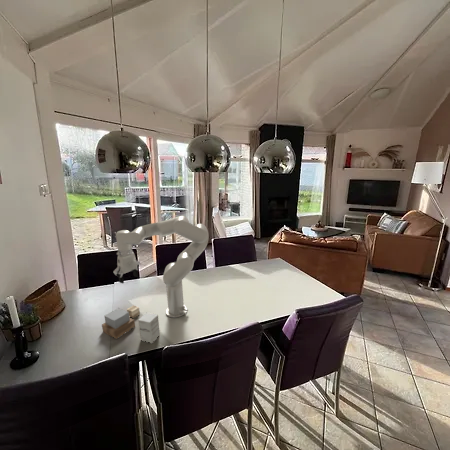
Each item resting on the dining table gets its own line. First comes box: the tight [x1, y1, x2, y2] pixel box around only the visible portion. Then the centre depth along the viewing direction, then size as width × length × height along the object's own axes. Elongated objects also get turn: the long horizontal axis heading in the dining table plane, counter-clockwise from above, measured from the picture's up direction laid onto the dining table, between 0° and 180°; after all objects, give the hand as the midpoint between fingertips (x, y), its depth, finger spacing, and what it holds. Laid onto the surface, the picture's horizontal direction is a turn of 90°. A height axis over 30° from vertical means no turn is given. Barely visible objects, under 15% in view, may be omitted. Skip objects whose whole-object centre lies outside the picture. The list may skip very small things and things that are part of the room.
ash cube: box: [126, 304, 140, 319], centre depth 156 cm, size 5×5×5 cm
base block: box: [101, 318, 136, 340], centre depth 143 cm, size 12×12×5 cm
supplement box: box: [137, 312, 161, 344], centre depth 134 cm, size 7×7×13 cm
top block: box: [104, 307, 130, 329], centre depth 142 cm, size 9×9×5 cm
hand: (128, 279), depth 150 cm, fingers open, 9 cm apart
